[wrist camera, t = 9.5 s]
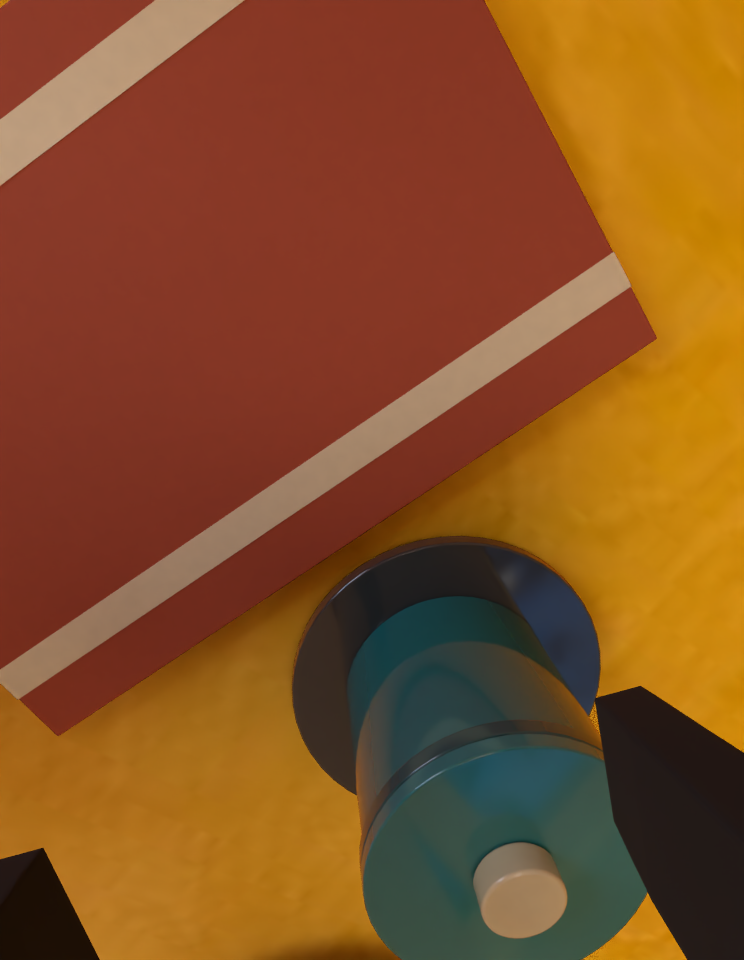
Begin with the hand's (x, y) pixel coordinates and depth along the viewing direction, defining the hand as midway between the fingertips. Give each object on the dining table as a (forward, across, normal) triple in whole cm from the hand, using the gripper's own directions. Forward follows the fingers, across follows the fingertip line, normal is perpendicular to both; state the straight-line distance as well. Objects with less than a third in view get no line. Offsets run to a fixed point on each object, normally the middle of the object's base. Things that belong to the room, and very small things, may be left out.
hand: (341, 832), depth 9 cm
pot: (+9, -2, +5) cm, 10 cm away
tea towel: (+9, +2, -6) cm, 11 cm away
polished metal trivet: (+9, -2, +5) cm, 11 cm away
